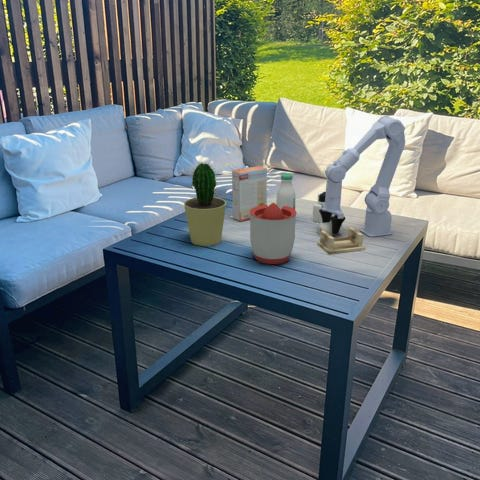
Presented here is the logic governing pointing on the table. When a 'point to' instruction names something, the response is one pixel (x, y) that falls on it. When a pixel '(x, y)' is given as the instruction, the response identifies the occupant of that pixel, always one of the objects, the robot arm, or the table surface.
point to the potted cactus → (205, 208)
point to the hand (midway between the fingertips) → (330, 230)
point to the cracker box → (248, 190)
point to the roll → (327, 228)
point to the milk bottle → (286, 192)
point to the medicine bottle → (319, 207)
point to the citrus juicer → (272, 233)
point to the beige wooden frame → (341, 242)
